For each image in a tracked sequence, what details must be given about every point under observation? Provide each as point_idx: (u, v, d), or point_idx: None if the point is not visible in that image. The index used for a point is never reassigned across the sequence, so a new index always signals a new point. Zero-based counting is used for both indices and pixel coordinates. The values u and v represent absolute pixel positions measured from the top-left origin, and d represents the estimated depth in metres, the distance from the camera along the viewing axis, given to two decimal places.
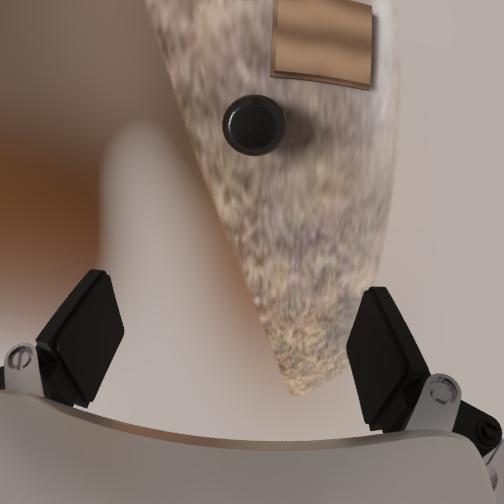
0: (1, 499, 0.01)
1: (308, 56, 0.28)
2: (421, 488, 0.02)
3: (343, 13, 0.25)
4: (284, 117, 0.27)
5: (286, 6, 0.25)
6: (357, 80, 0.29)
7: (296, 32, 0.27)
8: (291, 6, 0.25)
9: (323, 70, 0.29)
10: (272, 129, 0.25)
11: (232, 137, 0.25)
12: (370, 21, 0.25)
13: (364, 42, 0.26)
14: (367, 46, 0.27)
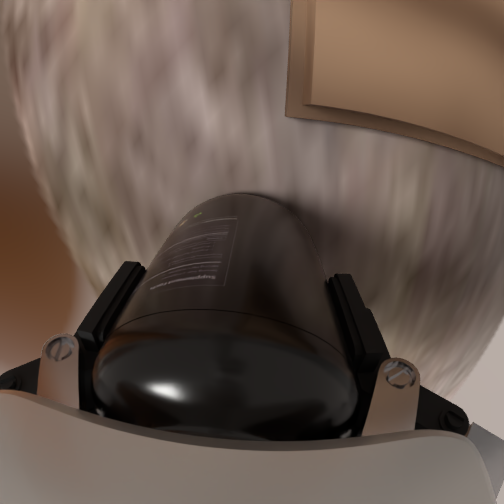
0: (1, 499, 0.01)
1: (429, 62, 0.06)
2: (421, 488, 0.02)
3: None
4: (357, 415, 0.05)
5: None
6: None
7: None
8: None
9: (467, 121, 0.07)
10: None
11: None
12: None
13: None
14: None
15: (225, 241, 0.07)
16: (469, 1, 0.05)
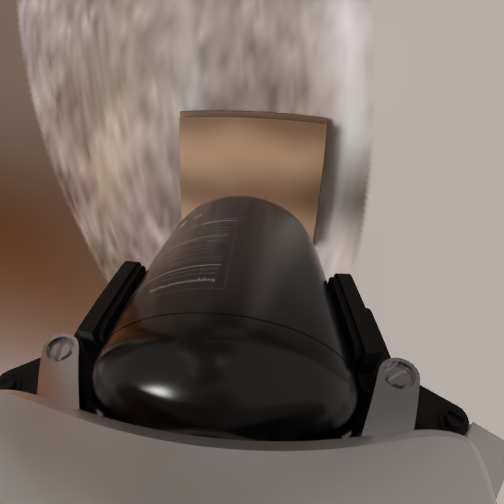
0: (1, 499, 0.01)
1: None
2: (421, 488, 0.02)
3: (278, 148, 0.22)
4: (356, 417, 0.05)
5: (191, 148, 0.22)
6: None
7: (207, 191, 0.24)
8: (198, 146, 0.22)
9: None
10: None
11: None
12: (321, 155, 0.22)
13: (308, 193, 0.24)
14: (312, 199, 0.24)
15: (225, 243, 0.07)
16: (249, 187, 0.24)
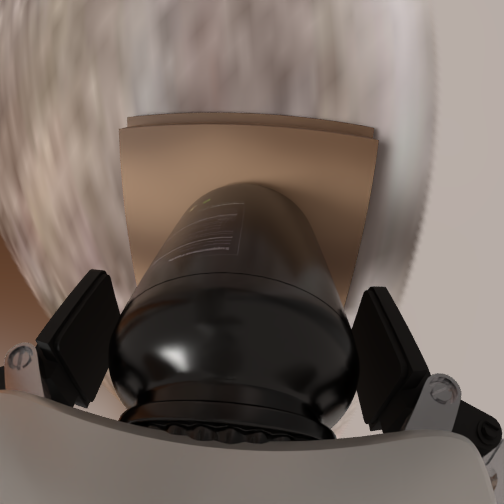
0: (1, 499, 0.01)
1: None
2: (421, 488, 0.02)
3: (292, 181, 0.13)
4: (356, 377, 0.06)
5: (139, 181, 0.13)
6: None
7: None
8: (151, 178, 0.13)
9: None
10: None
11: None
12: (366, 193, 0.13)
13: (340, 257, 0.14)
14: (344, 266, 0.15)
15: (235, 221, 0.08)
16: None
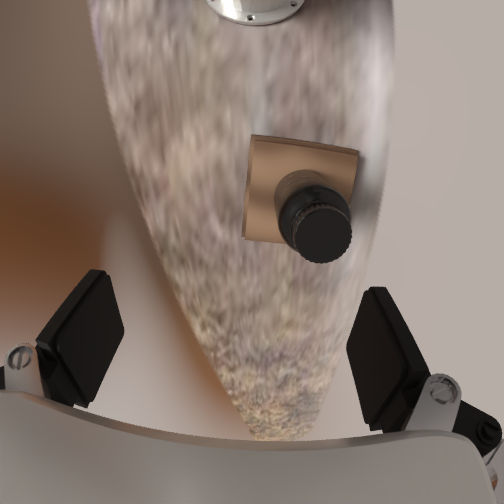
0: (1, 499, 0.01)
1: None
2: (421, 488, 0.02)
3: (323, 170, 0.31)
4: (350, 215, 0.25)
5: (261, 164, 0.31)
6: None
7: (269, 198, 0.33)
8: (266, 164, 0.31)
9: None
10: (344, 241, 0.22)
11: (297, 247, 0.22)
12: (353, 177, 0.31)
13: None
14: None
15: (313, 177, 0.27)
16: None
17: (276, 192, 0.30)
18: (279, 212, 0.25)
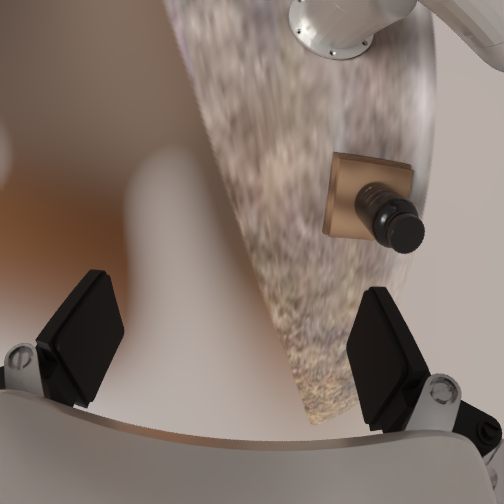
0: (1, 499, 0.01)
1: (356, 224, 0.42)
2: (421, 488, 0.02)
3: (389, 182, 0.38)
4: None
5: (345, 178, 0.38)
6: None
7: (350, 203, 0.40)
8: (349, 177, 0.38)
9: (365, 235, 0.42)
10: (419, 238, 0.29)
11: (392, 243, 0.30)
12: (409, 187, 0.38)
13: None
14: None
15: (390, 190, 0.34)
16: None
17: (360, 200, 0.37)
18: (373, 217, 0.32)
